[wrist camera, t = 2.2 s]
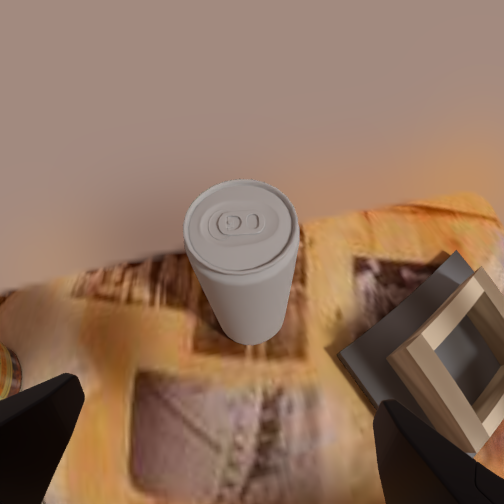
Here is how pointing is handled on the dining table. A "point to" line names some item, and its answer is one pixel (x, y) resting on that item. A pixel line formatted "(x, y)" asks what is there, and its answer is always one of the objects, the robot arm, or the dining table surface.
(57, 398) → the robot arm
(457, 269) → the can collar
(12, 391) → the sauce bottle
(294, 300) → the dining table surface
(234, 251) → the beverage can
